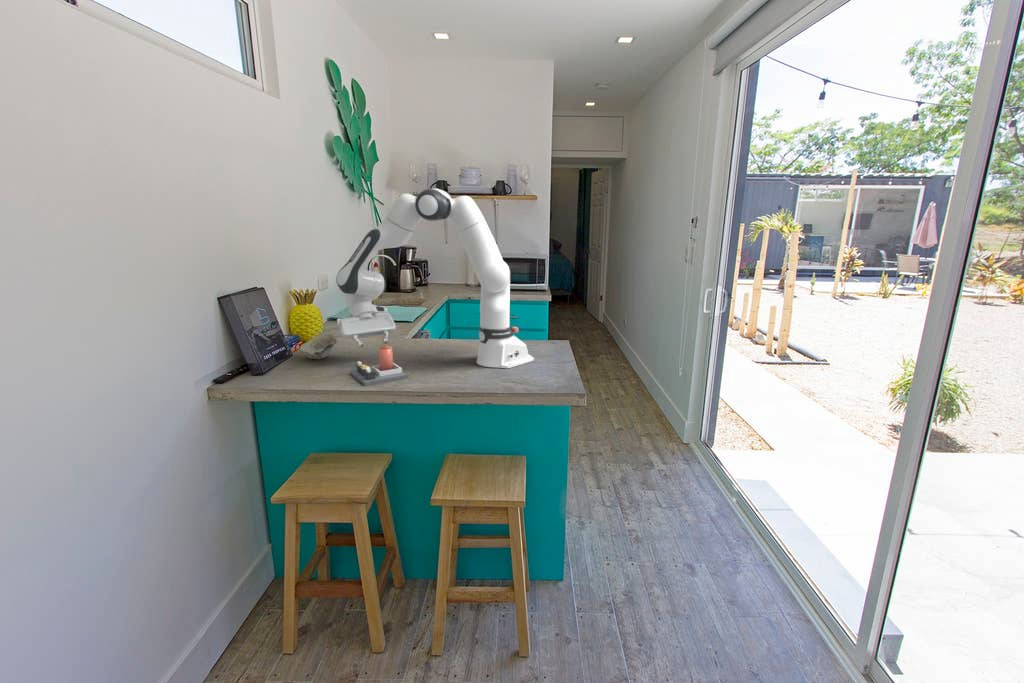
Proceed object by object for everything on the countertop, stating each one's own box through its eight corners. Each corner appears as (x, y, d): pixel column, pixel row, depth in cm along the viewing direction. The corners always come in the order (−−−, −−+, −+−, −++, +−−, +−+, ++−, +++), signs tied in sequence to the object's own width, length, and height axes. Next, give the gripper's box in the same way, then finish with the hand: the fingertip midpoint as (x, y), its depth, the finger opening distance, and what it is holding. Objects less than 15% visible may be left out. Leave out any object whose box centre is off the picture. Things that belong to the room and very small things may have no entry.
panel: (391, 367, 187) (390, 354, 186) (407, 377, 175) (406, 365, 174) (350, 374, 179) (349, 361, 177) (364, 385, 167) (363, 372, 165)
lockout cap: (390, 368, 181) (389, 344, 179) (395, 371, 178) (394, 346, 175) (378, 370, 179) (376, 345, 176) (382, 374, 175) (381, 348, 173)
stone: (326, 364, 190) (324, 338, 188) (294, 361, 194) (291, 335, 191) (342, 356, 200) (340, 332, 198) (311, 353, 204) (309, 329, 201)
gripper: (336, 312, 184) (346, 344, 178) (390, 306, 195) (401, 336, 189) (334, 322, 188) (344, 353, 183) (386, 316, 199) (397, 345, 194)
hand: (373, 344), depth 186 cm, fingers open, 8 cm apart
